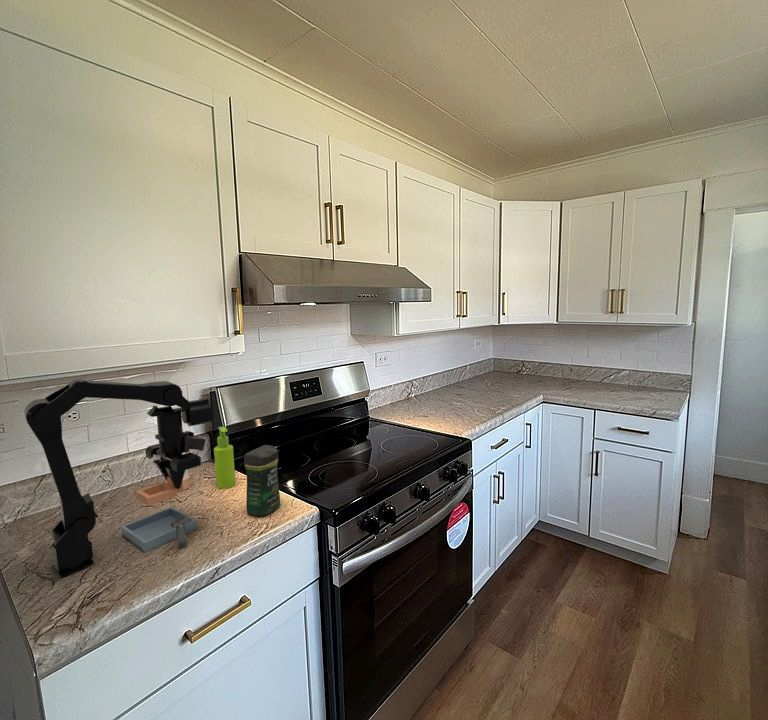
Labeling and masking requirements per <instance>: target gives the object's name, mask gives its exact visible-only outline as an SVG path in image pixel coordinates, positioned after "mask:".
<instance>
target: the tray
mask: <svg viewBox="0 0 768 720" xmlns="http://www.w3.org/2000/svg"><path fill="white" fill-rule="evenodd" d="M185 517H188V518H189V521H188V522H186V523H185V532H186V535H187V534H189V533H192V532H194V531H197V530H198V529H199V528H198V520H197V519H196V518H194V517H192V516H190V515H188V514H186V513H184V512H183V511H181V510H179V509H177V508H176V507H174V506H170V507H168V508H165V509H162V510H160V511H156V512H155V513H152V514H150V515H147V516H144V517H142V518H139V519H137V520H134V521H132V522H129V523H126V524H123V525H121V526H120V529H121V530H120V532H121V536H122V537H123V538H124V539H126V540H127V541H129V542H130V543H131V544H133V545H134V546H135V547H136V548H138V549H140V550H141V551H142V552H144V553H148V552H150V551H152V550H154V549H156V548H158V547H161V546H163V545H165V544H167V543H170V542H172V541H174V540H177V533H176V527H174V528H173V527H171V523H173V522H175V521H178V520H180V519H182V518H185Z"/></svg>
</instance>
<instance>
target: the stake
mask: <svg viewBox="0 0 768 720" xmlns="http://www.w3.org/2000/svg"><path fill="white" fill-rule="evenodd" d="M188 521H189V518H188V517H185V518H182V519H180V520H178V521H175V522H173V523H171V527H173V528H174V527H176V533H177V538H176V542H177V543H176V544H177V549H185V548H186V547H187V534H186V532H185V523H186V522H188Z"/></svg>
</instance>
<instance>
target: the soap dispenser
mask: <svg viewBox="0 0 768 720" xmlns="http://www.w3.org/2000/svg"><path fill="white" fill-rule="evenodd" d="M218 430H219V436H218V437H216V438H217V439H216V440H217V445H216V446H215V447H214V448H213V454H214V466H215V467H214V470H215V482H216V488H217V487H218V488H217V489H219V488H221V489H220V490H224V489H223V488H228V489H230V487H231V488H233V487H235V486H234V485H236V472H235V458H234V457H235V455H234V446H233V445H232V444H229V443H230V442H229V436H228V435H226V433H228V432H229V431H228V428H227V427H226V426H218Z"/></svg>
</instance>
